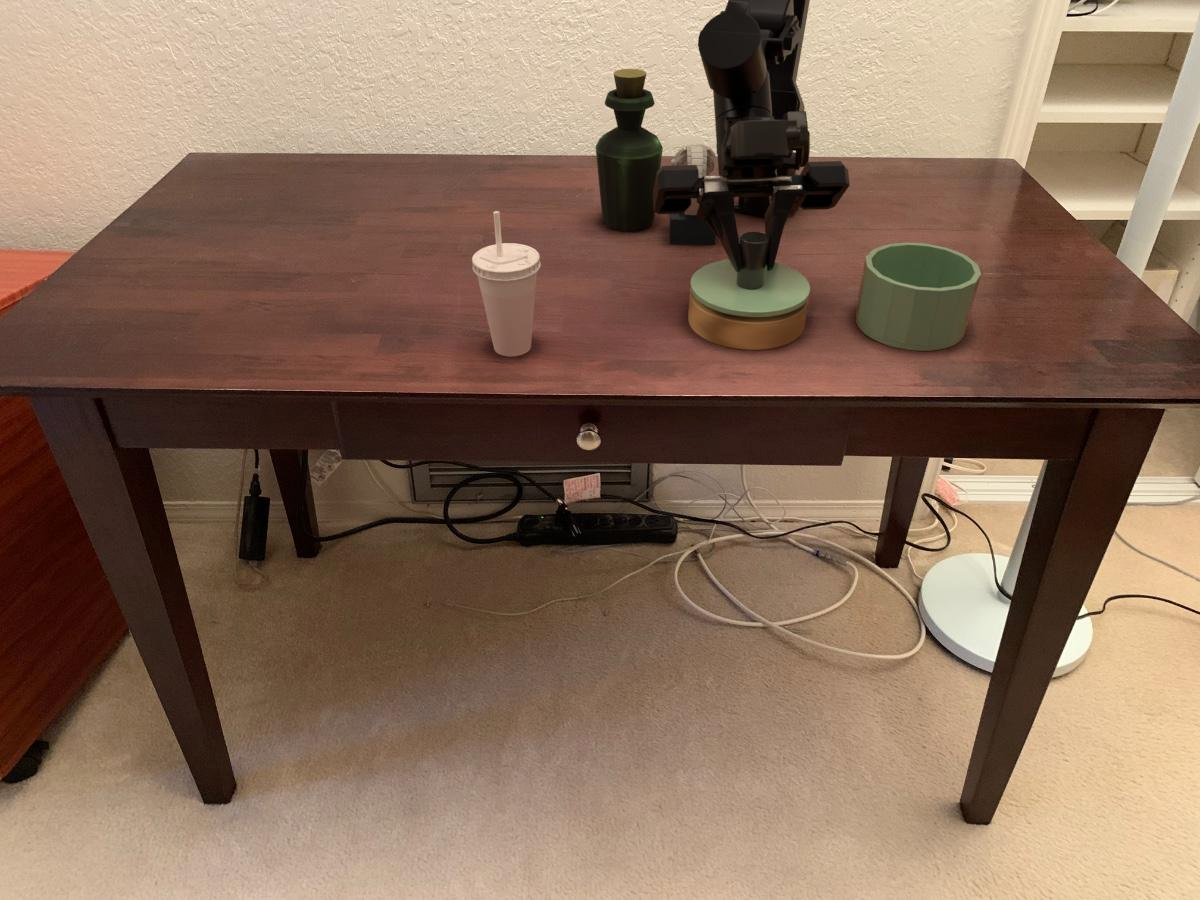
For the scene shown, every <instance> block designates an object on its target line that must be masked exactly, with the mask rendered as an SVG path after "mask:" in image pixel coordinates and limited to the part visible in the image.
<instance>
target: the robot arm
mask: <svg viewBox="0 0 1200 900" xmlns="http://www.w3.org/2000/svg"><path fill="white" fill-rule="evenodd" d="M810 2H811V0H727V3H726V5H725V8H724V10H721V11H720V13H719V14H716V15H715V16H713V17H712V18H710V19H709V21H707V23H706V24H705V25H704V27H703V28H702V30H700V31H699V33H698V34H699V35H698V38H697V39H698V40H697V41H698V42H697V47H698V52H699V55H700V59H701V63H702V66H703V69H704V73H705V76H706V79H707V83H708V86H709V88H710V89H711V90H712V95H713V109H714V126H715V141H716V145H715V147H716V148H715V149H716V155H717V156H716V157H717V169H718V171H717V172H718V175H710V176H703V177H702V178H699V173H698V168H697V165H677V166H671V165H661V167H660V169H659V171H658V172H657V174H656V179H655V183H654V188H653V207H654V213H655V214H658V215H670V214H683V213H684V212H685V211H686V210H687V209H688V208H689V207H690V206H691V199H692V198H697V203H699V208H698V211H697V214H696V216H697V219H698V220H705V221H706V222H707V223H708V225H709V226H710V227H711V229H712V230H713V232H714V233H715V235H716V238H717V239H718V240H719V242H720V244H721V246H722V248H723V251H724V252H725V254H726V256H727V257H728V258H727V259H729V260H730V261H731V263H732V265H733V267H734V269H735V271H736V272H740V270H741V250H740V237H739V232H738V226H737V221H736V220H737V219H736V214H735V212H738V213H744V214H747V215H752V216H757V217H762V218H764V234H766V235H767V236H768V237H769V244H768V253H767V262H766V265H767V270H768V271H772V269H773V267H774V264H775V262H776V260H777V255H778V251H779V248H780V244H781V241H782V235H783V232H784V228H785V225H786V222H787V220H788V219H790V218H793V217H794V216H795V215H796V213H797V212H798V210H799V208H800V209H801V210H803V211H814V210H830V209H833V208H835V207H836V206H837V204H839V201H840V200H841V199H842V197H843V196H844V195H845V193H846V192H847V190H848V188H849V187H850V175H849V169H848V168H847V167H846V165H845V164H844V163H843V161H841V160H829V161H828V160H827V161H826V160H825V161H823V160H822V161H809V160H810V152H811V133H810V131H809V124H808V117H807V111H806V110H805V103H804V101H803V98H802V95H801V93H800V89H799V87H798V85H797V84H798V83H797V79H798V74H799V68H800V67H799V66H800V61H801V55H802V49H803V43H804V37H805V31H806V27H807V26H806V25H807V21H808V13H809V9H810ZM801 168H802V170H801V172H800V174H798V173H797V171H800V169H801ZM735 198H738V201H737V202H736V203H735Z"/></svg>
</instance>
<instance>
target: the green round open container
mask: <svg viewBox="0 0 1200 900" xmlns="http://www.w3.org/2000/svg"><path fill="white" fill-rule="evenodd" d="M981 276H982V272H981V269H980V267H979V264H978V263H977V262H976V261H974V260H973V259H971V258H970V257H969V256H968V255H966V254H963V253H962V252H958V251H957V250H954V249H951V248H949V247H944V246H940V245H935V244H932V243H931V244H930V243H924V242H907V241H905V242H897V243H896V242H895V243H888V244H883V245H881V246H879V247H876V248H873V249H872V250H871V251H870V252H869V253H868V254H867V255H866V256H865V258H864V264H863V270H862V275H861V280H860V286H859V290H858V297H857V302H856V309H855V313H856V314H855V323H856V325H857V328H858V329H859V330H860V331H861V332H862V333H863V334H864V335H866V336H867V337H869V338H871V339H872V340H874V341H876V342H878V343H881V344H883V345H885V346H889V347H892V348H895V349H899V350H900V349H901V350H906V351H918V352H929V351H931V352H932V351H939V350H940V351H941V350H945V349H947V348H951V347H953V346H955V345H957V344H958V343H960V342H961V341H962V339H963V338H964V337H965V333H966V330H967V329H968V326H969V322H970V319H971V318H970V317H971V314H972V310H973V306H974V303H975V299H976V295H977V291H978V288H979V284H980V281H981Z"/></svg>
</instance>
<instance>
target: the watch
mask: <svg viewBox="0 0 1200 900" xmlns="http://www.w3.org/2000/svg"><path fill="white" fill-rule="evenodd" d="M716 160H717V156H716V152H715V151H714V150H713V149H712V148H711V147H710V146H708V145H705V144H701V143H691V144H687V145H684V146H683V147H681V148H679V149H678V150H677V151H676V153H675V155H674V158H671V159H670V166H677V165H697V168H698V173H699V178H702V177H703V176H711V174H712V173H713V172H714V170H715V168H716V167H715V166H716ZM698 208H699V203H697V198H692V199H691V206H690V207H689V208H688V209H687V210H686V211H685V212H684V213H683V214H669V227H668V231H669V232H668V233H669V235H668V237H669V238H668V240H669V245H707V246H709V245H711V246H715V245H716V242H717V236H716V235H715V233H714V232H713V230H712V229H711V227H710V226H709V225H708V223H707V222H706V221H705V220H698V219H697V216H696V214H697V211H698Z"/></svg>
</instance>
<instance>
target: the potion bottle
mask: <svg viewBox="0 0 1200 900" xmlns="http://www.w3.org/2000/svg"><path fill="white" fill-rule="evenodd" d="M646 77H647V72H646V71H645V70H643V69H639V68H622V69H617V70H615V71H614V72H613V78H614V84H615V89H612V90H609V91H608V92H607V94H606V97H605V99H604V105H605V107H607V108H609V109H610V110H613V114H614V118H615V122H616V126H615V127H614V128H612V129H610V130H609V131H607V132H605V133H604V134H602V135H601V136H600V138H599V139H598V141H597V143H596V145H595V154H596V155H595V156H596V157H595V158H596V166H597V177H598V188H599V198H600V209H601V216H602V217H601V219H602V222H603V224H604V225H605V226H607V227H608V228H609V229H612V230H615V231H619V232H638V231H642V230H645V229H647V228H649V227H650V226H652V225H653V223H654V221H655V217H656V213H654V207H653V188H654V183H655V179H656V174H657V172H658V171H659V169H660V168H661V167H662V158H663V148H664V146H663V145H662V143H661V141H660V140H659V137H658V135H656V134H654V133H653V132H651V131H649V130H647V128H644V127H642V124H643V121H644V117H645V114H646V110H648V109H650V108H653V107H654V106H655V100H654V99H655V98H654V96H653V94H652V92H651V91H650V90H648V89H644V87H645V83H646Z"/></svg>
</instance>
